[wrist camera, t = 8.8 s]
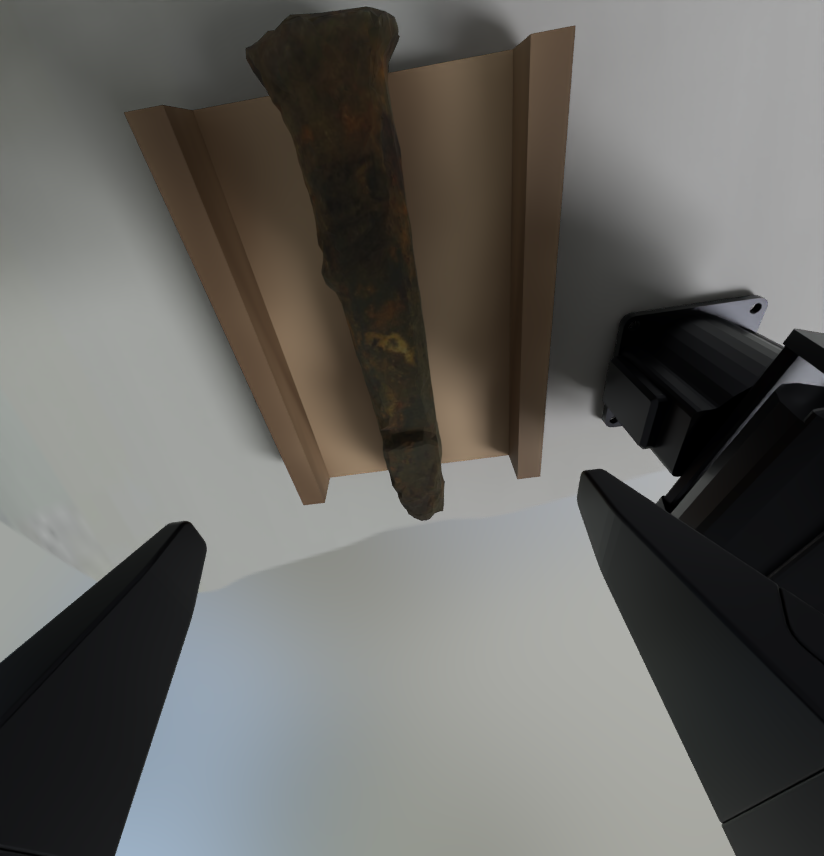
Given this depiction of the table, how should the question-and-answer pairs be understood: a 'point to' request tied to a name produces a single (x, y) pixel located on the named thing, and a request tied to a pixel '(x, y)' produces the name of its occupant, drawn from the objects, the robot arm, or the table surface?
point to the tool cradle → (432, 243)
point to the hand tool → (362, 220)
